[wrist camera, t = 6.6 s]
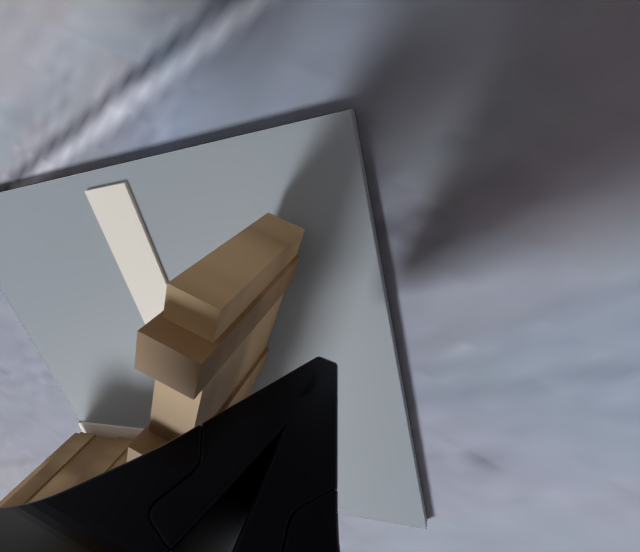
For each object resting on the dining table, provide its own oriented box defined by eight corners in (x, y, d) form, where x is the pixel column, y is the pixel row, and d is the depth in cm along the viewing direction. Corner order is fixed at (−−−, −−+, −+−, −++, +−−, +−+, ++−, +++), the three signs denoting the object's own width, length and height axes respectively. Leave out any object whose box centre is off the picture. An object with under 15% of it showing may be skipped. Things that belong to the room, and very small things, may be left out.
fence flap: (237, 445, 14) (157, 573, 11) (207, 429, 14) (119, 550, 11) (308, 230, 9) (208, 330, 6) (264, 210, 10) (139, 295, 6)
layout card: (114, 467, 20) (108, 474, 19) (-41, 201, 14) (-54, 204, 14) (426, 520, 14) (426, 532, 13) (354, 108, 9) (349, 109, 8)
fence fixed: (86, 450, 18) (-10, 545, 15) (73, 431, 18) (-28, 523, 14) (198, 468, 16) (116, 586, 12) (187, 445, 15) (99, 562, 12)
